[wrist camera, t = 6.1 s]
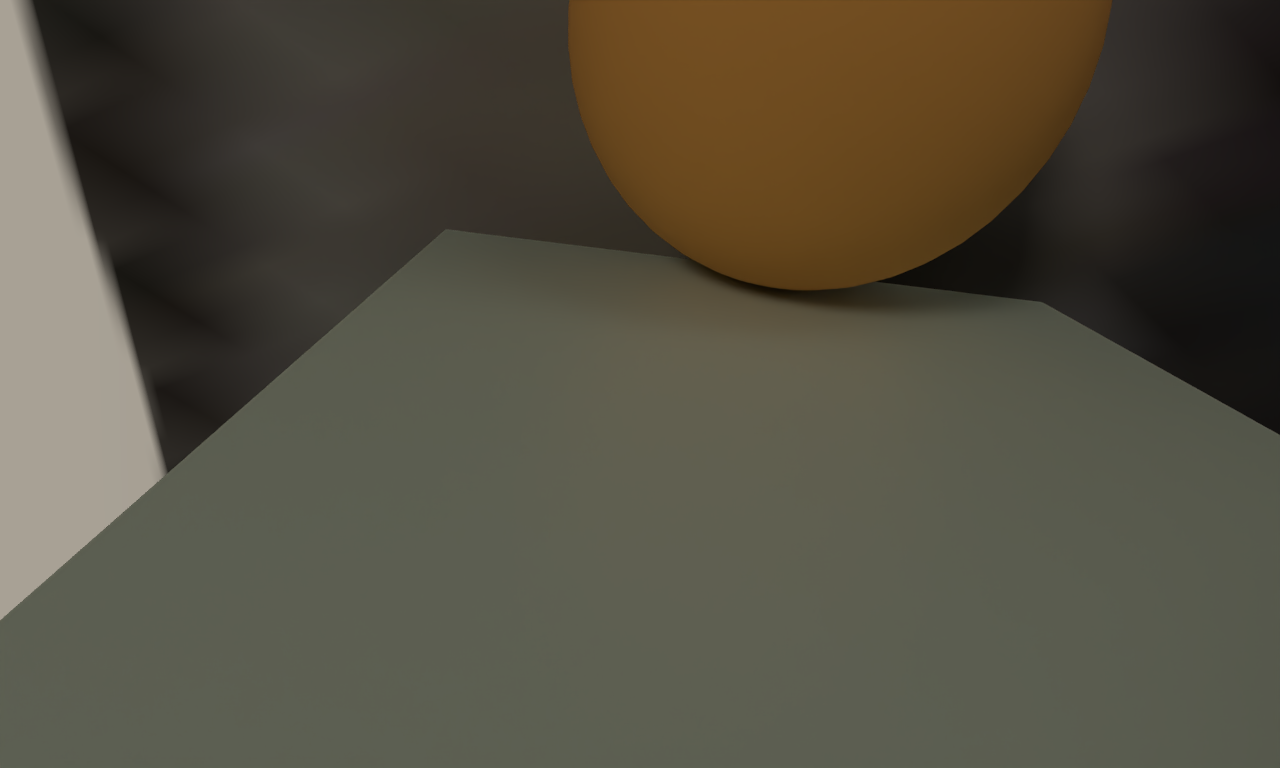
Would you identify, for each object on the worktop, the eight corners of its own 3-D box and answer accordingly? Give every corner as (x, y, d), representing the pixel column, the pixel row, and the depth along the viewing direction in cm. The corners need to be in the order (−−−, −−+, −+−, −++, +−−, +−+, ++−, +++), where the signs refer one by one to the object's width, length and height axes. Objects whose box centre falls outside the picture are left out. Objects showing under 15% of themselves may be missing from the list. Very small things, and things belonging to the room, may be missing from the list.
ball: (1078, 407, 6) (1467, -357, 4) (522, 345, 6) (561, -522, 4) (903, 230, 11) (1036, -188, 8) (572, 189, 10) (605, -256, 8)
